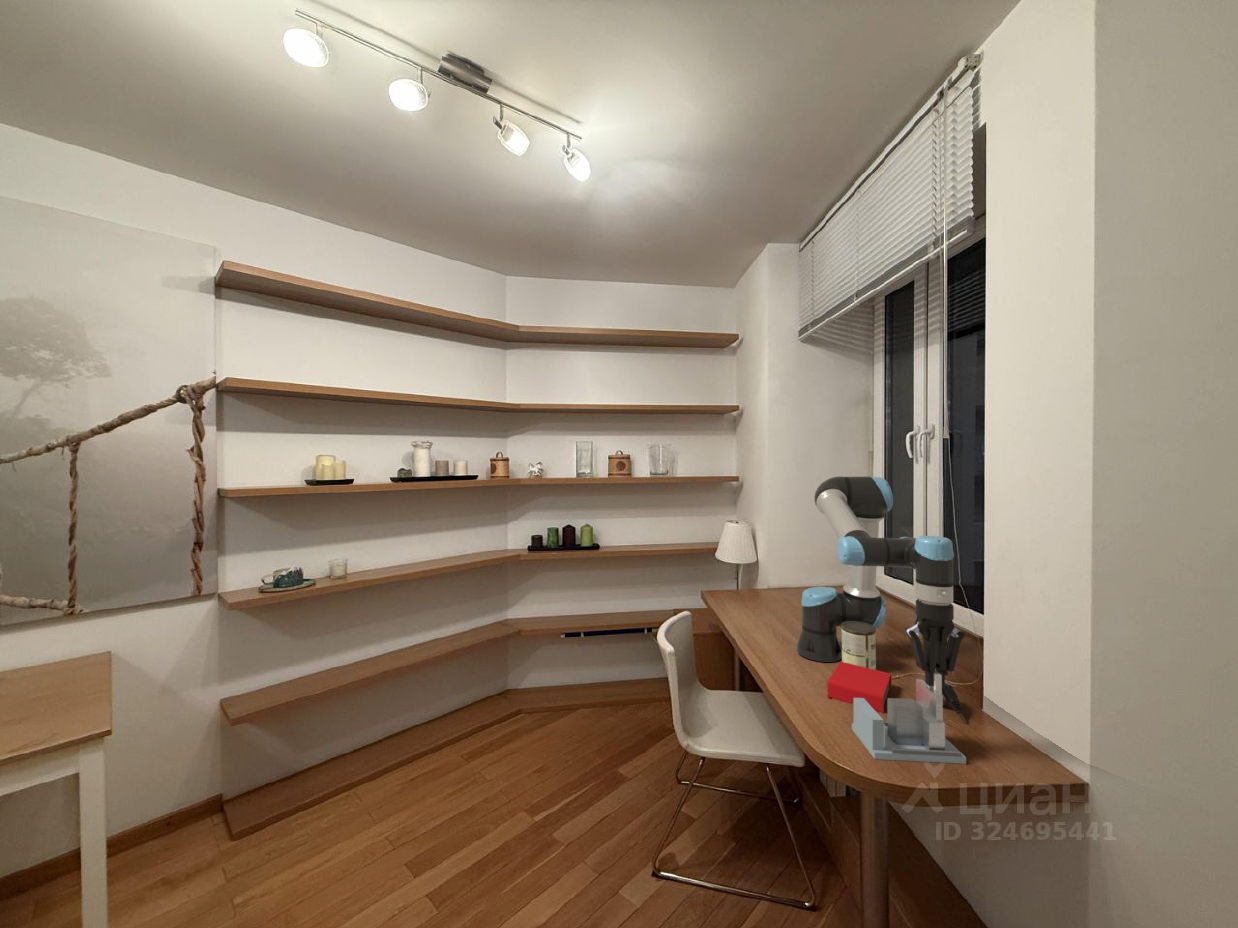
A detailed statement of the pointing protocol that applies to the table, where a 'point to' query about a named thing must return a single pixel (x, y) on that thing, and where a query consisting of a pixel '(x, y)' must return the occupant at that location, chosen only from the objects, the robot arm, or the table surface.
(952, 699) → the power plug
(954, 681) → the table surface
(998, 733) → the table surface
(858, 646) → the coffee can
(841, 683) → the red device housing
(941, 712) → the sliding jaw
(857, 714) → the vise base
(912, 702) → the steel block
